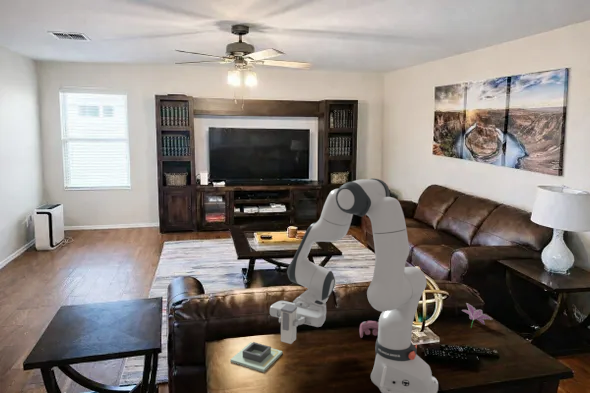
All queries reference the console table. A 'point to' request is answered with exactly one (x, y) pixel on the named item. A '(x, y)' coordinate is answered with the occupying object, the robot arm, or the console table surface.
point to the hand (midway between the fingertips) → (287, 322)
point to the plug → (288, 323)
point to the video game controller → (366, 325)
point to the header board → (257, 356)
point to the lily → (476, 314)
